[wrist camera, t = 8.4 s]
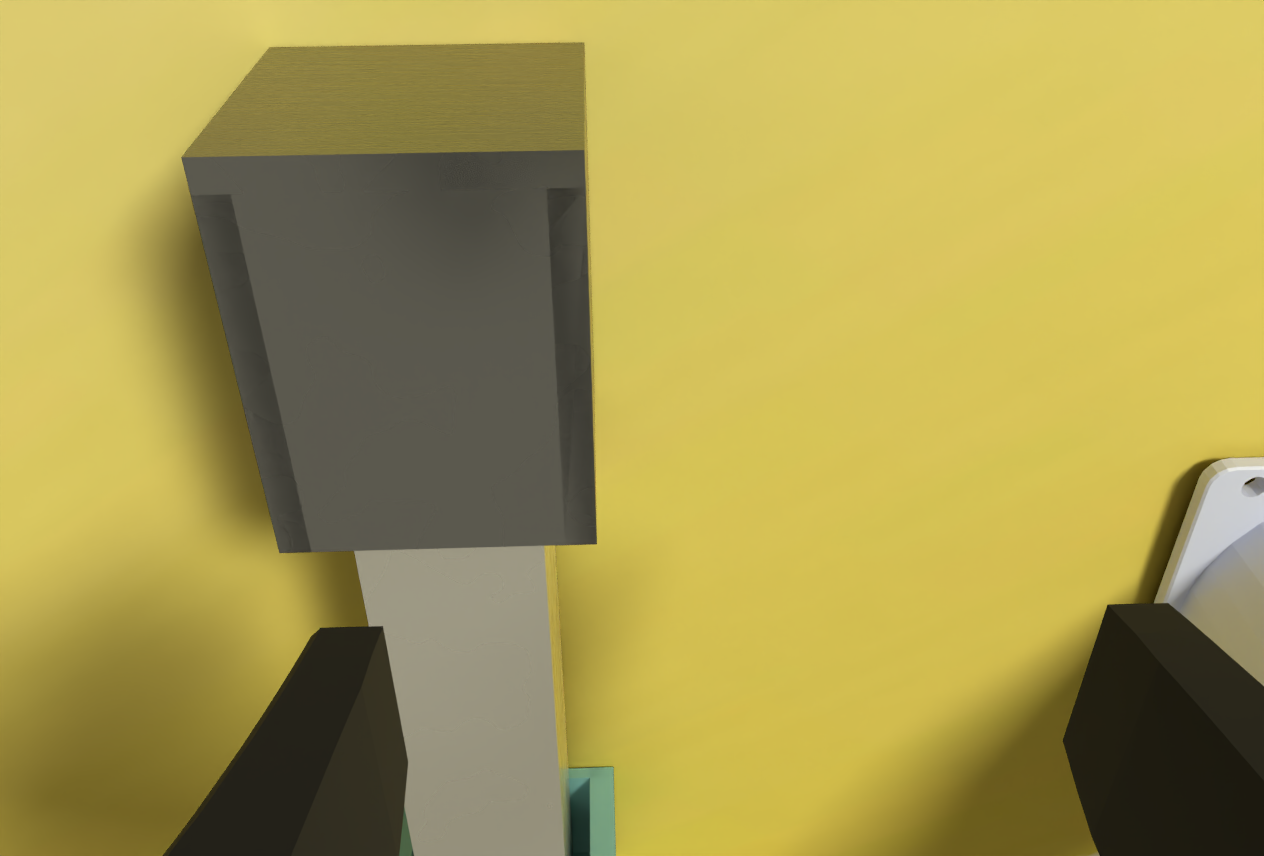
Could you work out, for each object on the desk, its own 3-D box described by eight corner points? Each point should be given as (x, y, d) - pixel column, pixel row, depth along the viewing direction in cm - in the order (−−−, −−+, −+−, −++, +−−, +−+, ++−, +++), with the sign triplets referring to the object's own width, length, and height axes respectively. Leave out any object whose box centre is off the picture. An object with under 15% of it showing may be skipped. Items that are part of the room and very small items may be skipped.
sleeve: (584, 42, 18) (584, 150, 14) (594, 384, 21) (596, 544, 18) (268, 47, 18) (181, 157, 14) (334, 391, 21) (280, 552, 17)
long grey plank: (546, 395, 21) (540, 501, 18) (572, 845, 29) (572, 964, 26) (375, 399, 21) (345, 507, 18) (449, 849, 29) (436, 968, 26)
